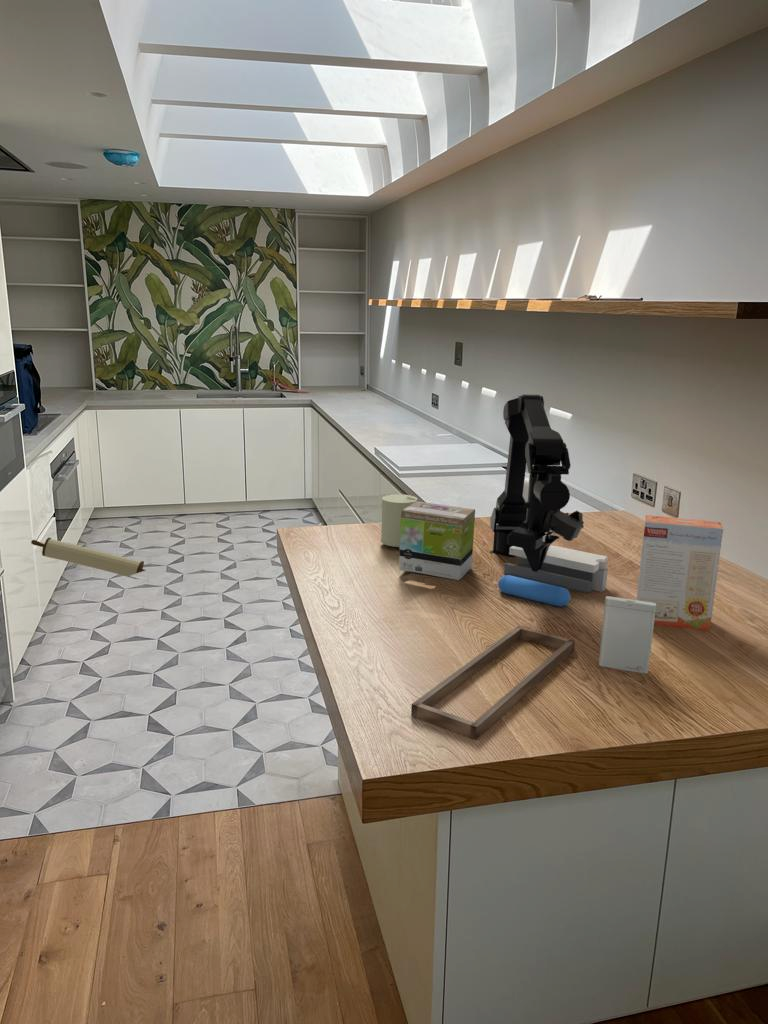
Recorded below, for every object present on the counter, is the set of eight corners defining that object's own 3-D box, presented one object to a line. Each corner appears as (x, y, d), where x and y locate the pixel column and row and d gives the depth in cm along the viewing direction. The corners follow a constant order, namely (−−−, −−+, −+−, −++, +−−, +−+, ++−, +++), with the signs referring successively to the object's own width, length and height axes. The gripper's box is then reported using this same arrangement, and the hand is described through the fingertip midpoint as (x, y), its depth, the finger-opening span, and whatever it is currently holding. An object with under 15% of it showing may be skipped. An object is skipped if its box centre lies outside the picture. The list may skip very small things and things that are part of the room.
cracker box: (708, 622, 156) (722, 520, 151) (709, 633, 151) (724, 528, 145) (634, 611, 160) (645, 512, 155) (633, 622, 155) (645, 520, 149)
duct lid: (509, 554, 179) (509, 547, 179) (523, 546, 185) (524, 539, 185) (599, 573, 167) (600, 566, 167) (612, 564, 174) (612, 557, 173)
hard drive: (647, 674, 133) (656, 606, 130) (598, 666, 136) (605, 598, 133) (648, 670, 135) (656, 602, 131) (599, 662, 137) (606, 595, 134)
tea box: (397, 571, 181) (399, 509, 177) (412, 559, 190) (414, 499, 186) (460, 581, 176) (463, 517, 172) (472, 568, 185) (476, 507, 181)
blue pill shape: (494, 594, 169) (495, 577, 168) (503, 587, 172) (503, 570, 171) (565, 611, 161) (566, 593, 159) (573, 604, 164) (573, 586, 162)
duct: (504, 574, 181) (505, 554, 180) (518, 565, 187) (519, 546, 186) (597, 595, 169) (599, 574, 168) (609, 585, 175) (611, 565, 174)
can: (416, 547, 199) (418, 501, 196) (380, 546, 199) (381, 500, 196) (415, 536, 208) (417, 492, 205) (380, 536, 208) (381, 491, 205)
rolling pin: (158, 561, 204) (152, 579, 202) (158, 569, 209) (152, 586, 207) (33, 529, 201) (25, 547, 198) (36, 538, 206) (29, 555, 203)
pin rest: (411, 716, 118) (411, 704, 118) (517, 635, 148) (518, 625, 147) (476, 739, 112) (476, 727, 112) (573, 650, 142) (574, 640, 141)
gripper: (561, 513, 149) (555, 591, 153) (596, 495, 163) (589, 567, 167) (508, 504, 155) (503, 579, 159) (546, 487, 170) (540, 556, 174)
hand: (536, 570), depth 164 cm, fingers closed
